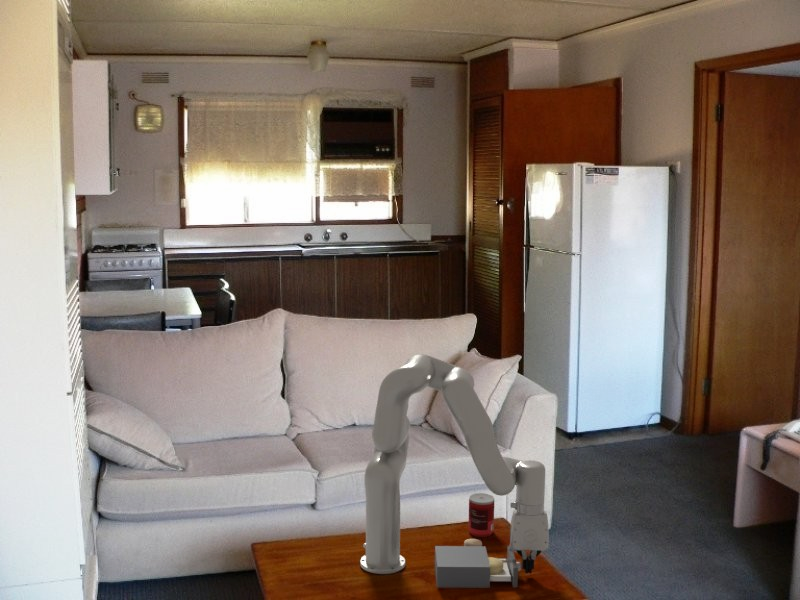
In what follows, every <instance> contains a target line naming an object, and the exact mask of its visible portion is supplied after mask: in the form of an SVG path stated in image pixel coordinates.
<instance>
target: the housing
mask: <svg viewBox="0 0 800 600" xmlns="http://www.w3.org/2000/svg"><path fill="white" fill-rule="evenodd" d="M488 557H489V556H488V552H487V546H485V545H484V546H483V545H482V546H464V545H460V546H459V545H434V571H435V582H436V587H437V588H463V589H464V588H468V589H469V588H475V589H476V588H480V589H481V588H484V589H485V588H486V589H487V588H488V589H489V588H491V581H490V564H489V560H488Z"/></svg>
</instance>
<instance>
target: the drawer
mask: <svg viewBox="0 0 800 600" xmlns="http://www.w3.org/2000/svg"><path fill="white" fill-rule="evenodd" d="M506 547H507V548H506V549H507V550H506V558H499V559H500V560H501V561H503V572H502V573H500V574H497V575H490V582H510V583H511V584H512V585H511V586H512V588H518V585H519V584H518V583H519V582H518V579H519V577H518V576H519V575H518V574H519V572H521V571H522V563H521V562H522V561H517V560H516V557H515V552H512V551H509V545H508V546H506Z"/></svg>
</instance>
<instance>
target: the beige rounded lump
mask: <svg viewBox="0 0 800 600" xmlns="http://www.w3.org/2000/svg"><path fill="white" fill-rule="evenodd" d="M463 546H483V542H482V540H481V539H476V538H468V539H465V540H464V541H463Z"/></svg>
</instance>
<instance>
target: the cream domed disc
mask: <svg viewBox="0 0 800 600" xmlns="http://www.w3.org/2000/svg"><path fill="white" fill-rule="evenodd" d="M500 559H501V558H498V557H490V556H488V560H489V564H490V575H497V574H500V573H502V572H503V561H501V560H500Z"/></svg>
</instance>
